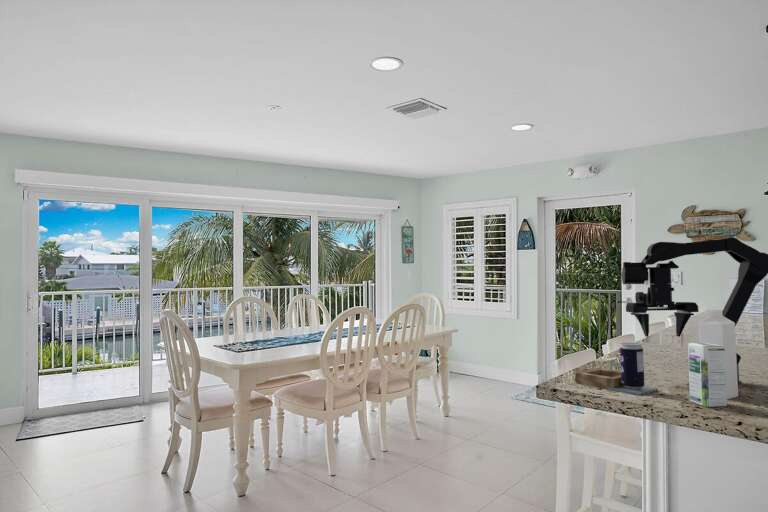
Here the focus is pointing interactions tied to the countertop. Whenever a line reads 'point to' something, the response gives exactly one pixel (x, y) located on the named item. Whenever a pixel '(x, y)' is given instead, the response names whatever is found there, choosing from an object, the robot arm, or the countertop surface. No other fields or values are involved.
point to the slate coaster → (634, 390)
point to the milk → (722, 334)
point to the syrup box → (707, 374)
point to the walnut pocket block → (599, 378)
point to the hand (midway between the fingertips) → (662, 336)
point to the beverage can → (632, 365)
